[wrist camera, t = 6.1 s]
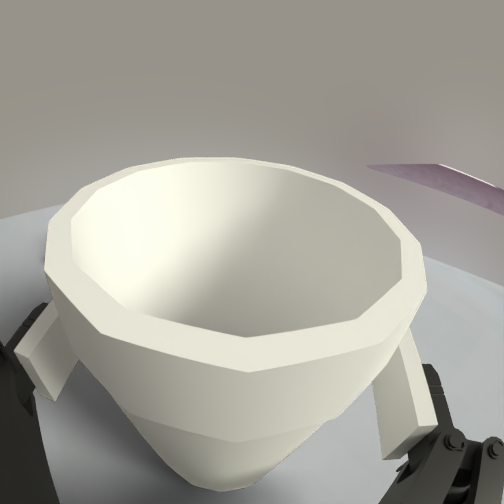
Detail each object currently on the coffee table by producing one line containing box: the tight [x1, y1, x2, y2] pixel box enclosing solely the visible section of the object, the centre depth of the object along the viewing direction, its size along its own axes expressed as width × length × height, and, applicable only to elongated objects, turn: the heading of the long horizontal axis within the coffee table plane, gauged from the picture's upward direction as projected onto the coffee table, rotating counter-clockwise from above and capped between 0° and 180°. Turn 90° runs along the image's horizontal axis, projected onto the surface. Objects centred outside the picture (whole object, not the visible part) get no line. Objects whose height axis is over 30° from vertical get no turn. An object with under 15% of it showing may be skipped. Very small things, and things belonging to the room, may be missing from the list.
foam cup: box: [44, 158, 427, 492], centre depth 11 cm, size 10×9×13 cm
